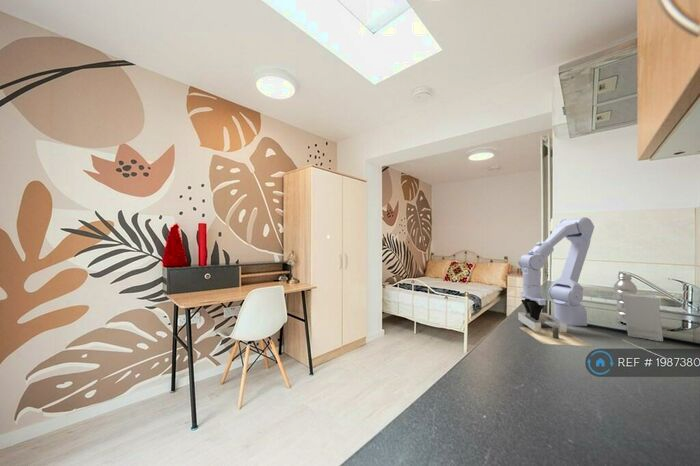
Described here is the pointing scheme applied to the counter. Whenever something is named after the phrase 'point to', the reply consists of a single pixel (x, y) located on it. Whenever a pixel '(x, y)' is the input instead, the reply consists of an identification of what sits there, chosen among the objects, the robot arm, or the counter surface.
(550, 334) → the hook board
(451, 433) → the counter surface
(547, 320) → the c link
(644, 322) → the skincare box
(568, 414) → the counter surface
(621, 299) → the plastic bottle
